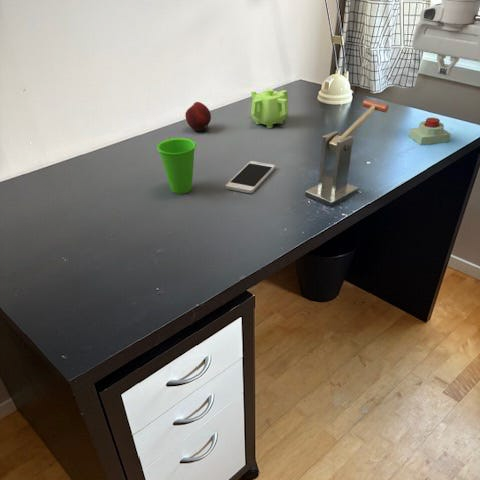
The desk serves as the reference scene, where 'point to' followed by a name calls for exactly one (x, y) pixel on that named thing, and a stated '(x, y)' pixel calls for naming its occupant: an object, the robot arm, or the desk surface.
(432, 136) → the control block
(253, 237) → the desk surface
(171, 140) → the cup
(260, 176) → the smartphone
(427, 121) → the button
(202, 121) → the apple
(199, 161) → the desk surface
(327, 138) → the bracket
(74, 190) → the desk surface
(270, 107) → the green pot with handles
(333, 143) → the lever
